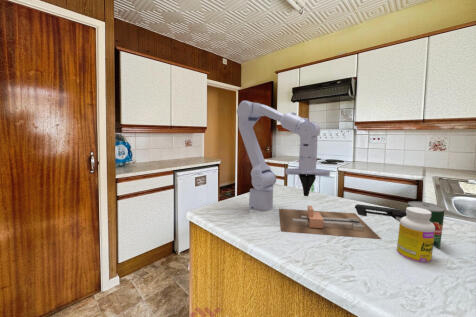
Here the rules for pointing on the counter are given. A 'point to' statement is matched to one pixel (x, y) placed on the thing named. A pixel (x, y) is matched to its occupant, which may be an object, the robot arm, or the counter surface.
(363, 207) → the door handle
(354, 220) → the tong arm
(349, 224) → the fixed tong arm
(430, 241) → the supplement bottle
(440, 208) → the canned tomato
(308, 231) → the walnut board
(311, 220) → the sleeve
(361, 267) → the counter surface
